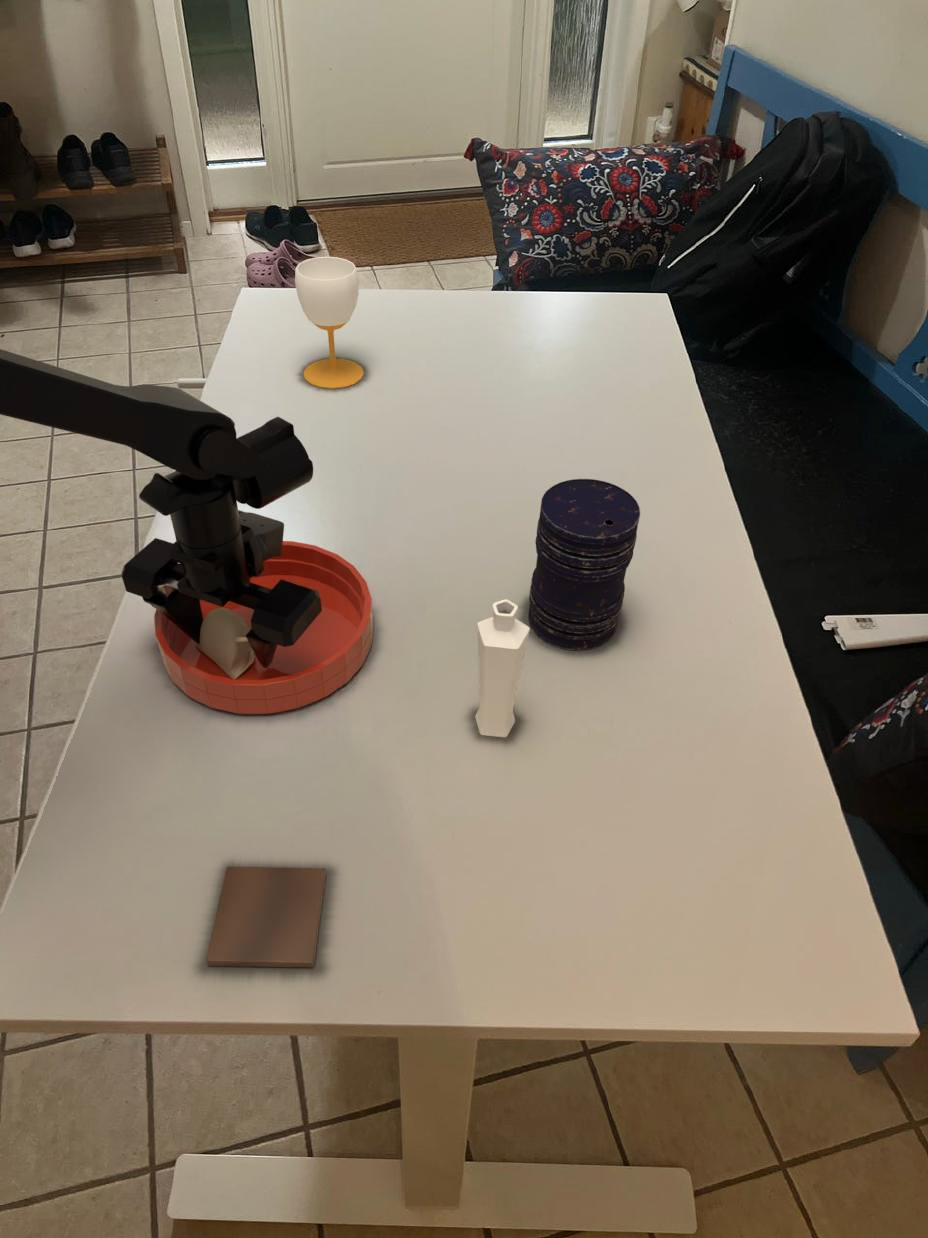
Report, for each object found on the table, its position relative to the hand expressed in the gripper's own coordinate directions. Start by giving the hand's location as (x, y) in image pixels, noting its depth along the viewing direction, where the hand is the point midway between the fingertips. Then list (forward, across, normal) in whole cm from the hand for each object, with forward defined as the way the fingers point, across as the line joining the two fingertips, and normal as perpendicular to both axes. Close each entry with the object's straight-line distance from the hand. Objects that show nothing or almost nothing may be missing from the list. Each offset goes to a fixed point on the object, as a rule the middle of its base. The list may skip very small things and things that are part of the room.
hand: (234, 652), depth 89 cm
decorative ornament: (+1, 0, 0) cm, 1 cm away
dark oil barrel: (+2, -29, -21) cm, 36 cm away
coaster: (+1, -18, +22) cm, 29 cm away
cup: (+1, +21, -57) cm, 61 cm away
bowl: (+1, -1, -4) cm, 5 cm away
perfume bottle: (+2, -27, -4) cm, 27 cm away
